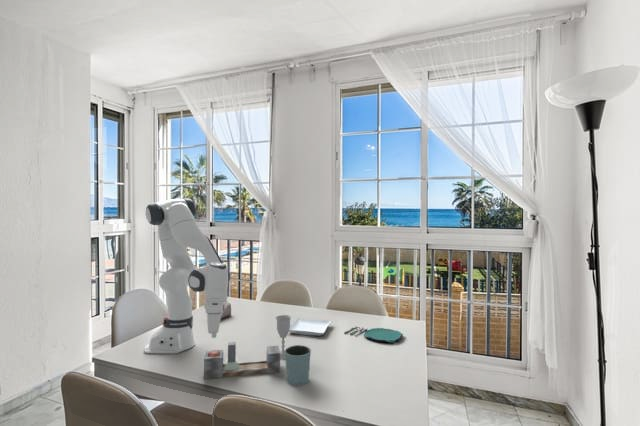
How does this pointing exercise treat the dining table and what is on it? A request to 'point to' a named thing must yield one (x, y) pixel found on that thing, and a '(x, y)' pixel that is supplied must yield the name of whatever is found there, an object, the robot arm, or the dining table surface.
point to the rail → (241, 365)
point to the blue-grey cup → (297, 364)
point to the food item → (226, 311)
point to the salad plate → (309, 326)
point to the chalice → (283, 330)
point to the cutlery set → (380, 334)
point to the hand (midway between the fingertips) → (214, 336)
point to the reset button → (213, 353)
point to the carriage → (231, 357)
